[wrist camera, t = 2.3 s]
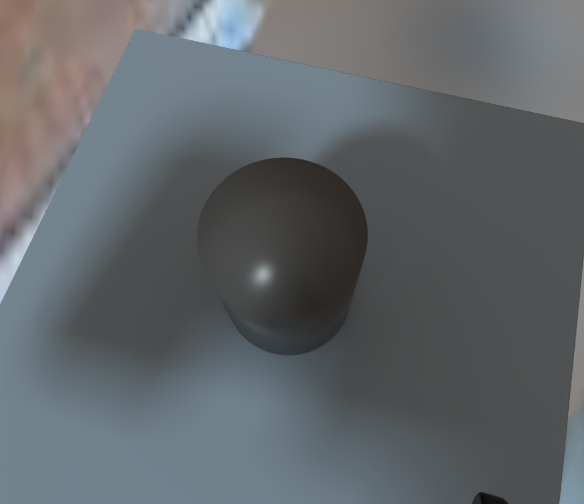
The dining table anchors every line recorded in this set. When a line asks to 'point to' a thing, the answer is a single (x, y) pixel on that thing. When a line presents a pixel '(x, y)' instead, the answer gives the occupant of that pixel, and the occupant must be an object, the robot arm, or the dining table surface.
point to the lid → (294, 294)
